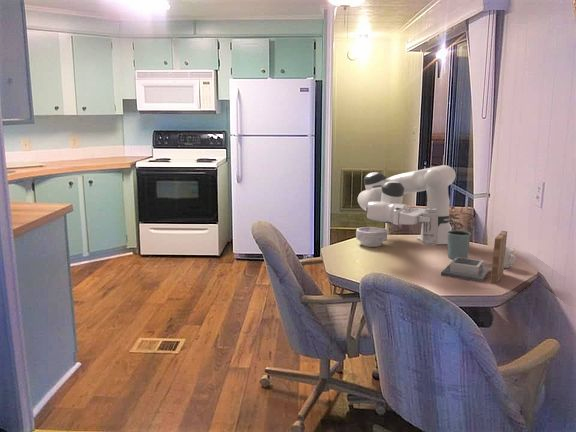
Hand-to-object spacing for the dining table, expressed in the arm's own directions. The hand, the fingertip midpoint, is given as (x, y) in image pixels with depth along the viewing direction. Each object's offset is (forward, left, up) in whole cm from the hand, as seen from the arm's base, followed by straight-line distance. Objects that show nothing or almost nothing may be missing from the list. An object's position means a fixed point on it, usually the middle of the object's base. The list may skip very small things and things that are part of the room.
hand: (433, 218), depth 216 cm
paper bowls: (-24, -36, -22) cm, 48 cm away
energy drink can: (0, 0, -11) cm, 11 cm away
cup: (-20, +27, -22) cm, 40 cm away
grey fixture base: (-2, +15, -22) cm, 26 cm away
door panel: (-2, +27, -22) cm, 35 cm away
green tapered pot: (-24, +6, -22) cm, 33 cm away
